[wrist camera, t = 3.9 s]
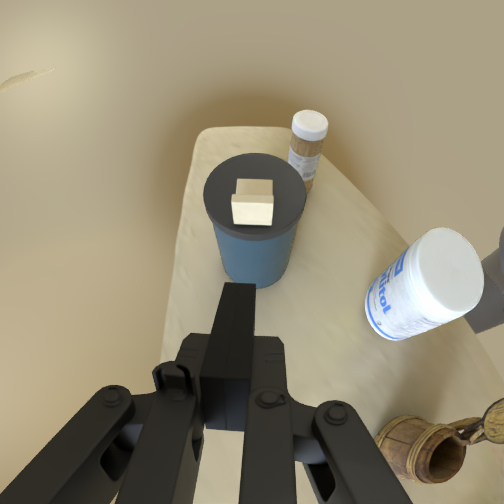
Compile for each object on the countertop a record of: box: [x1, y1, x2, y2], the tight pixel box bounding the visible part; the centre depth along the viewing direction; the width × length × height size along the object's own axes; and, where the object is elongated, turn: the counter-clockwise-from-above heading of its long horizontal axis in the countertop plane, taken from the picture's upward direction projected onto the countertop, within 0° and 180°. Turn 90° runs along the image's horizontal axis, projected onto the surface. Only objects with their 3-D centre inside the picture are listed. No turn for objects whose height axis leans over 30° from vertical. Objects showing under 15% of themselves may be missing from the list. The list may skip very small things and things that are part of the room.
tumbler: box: [203, 153, 306, 289], centre depth 34 cm, size 10×10×15 cm
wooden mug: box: [374, 398, 504, 484], centre depth 21 cm, size 9×14×18 cm, turn 113°
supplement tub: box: [365, 227, 484, 340], centre depth 31 cm, size 10×10×15 cm
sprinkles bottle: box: [287, 110, 328, 192], centre depth 40 cm, size 5×5×14 cm
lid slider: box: [231, 179, 274, 225], centre depth 25 cm, size 4×3×3 cm
